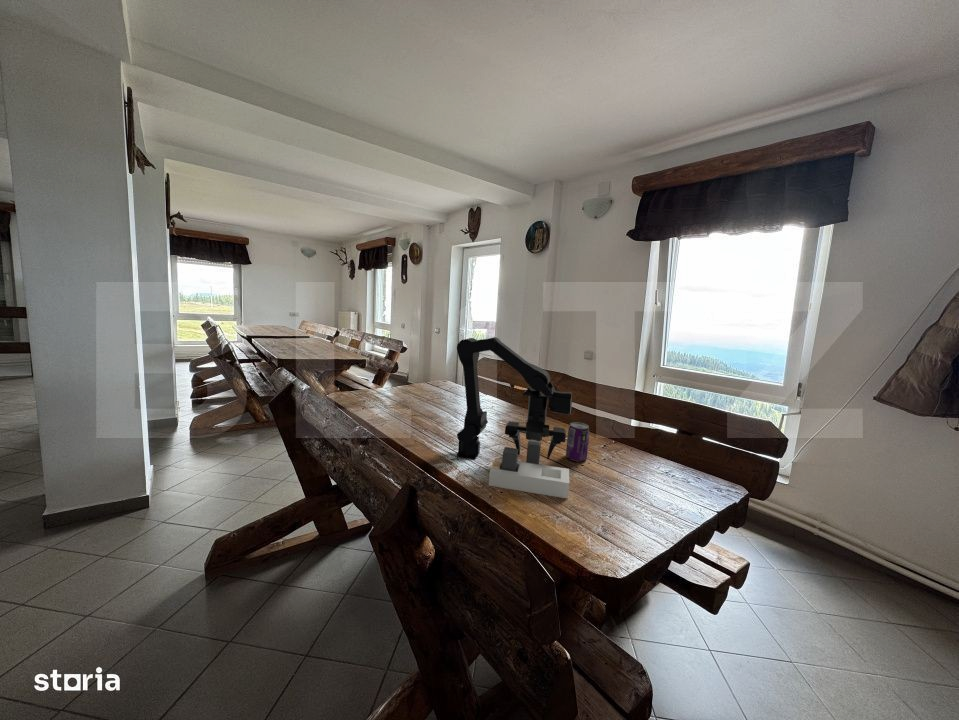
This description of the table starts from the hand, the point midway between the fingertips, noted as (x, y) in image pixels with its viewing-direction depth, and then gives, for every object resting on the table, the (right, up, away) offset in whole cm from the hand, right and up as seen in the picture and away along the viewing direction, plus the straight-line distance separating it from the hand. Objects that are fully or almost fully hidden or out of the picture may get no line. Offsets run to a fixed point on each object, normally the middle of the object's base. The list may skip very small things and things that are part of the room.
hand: (533, 456), depth 117 cm
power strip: (-3, -5, -11) cm, 12 cm away
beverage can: (+16, -3, +9) cm, 19 cm away
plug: (0, -3, 0) cm, 4 cm away
